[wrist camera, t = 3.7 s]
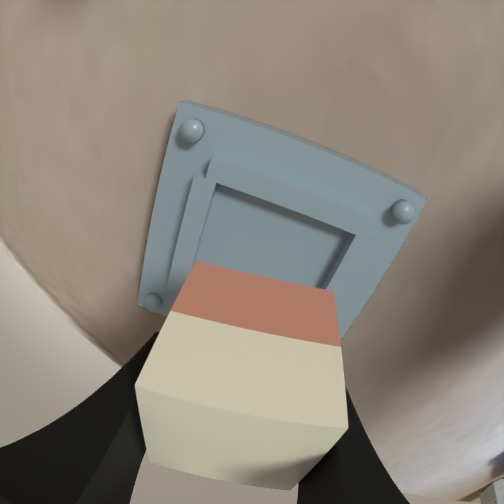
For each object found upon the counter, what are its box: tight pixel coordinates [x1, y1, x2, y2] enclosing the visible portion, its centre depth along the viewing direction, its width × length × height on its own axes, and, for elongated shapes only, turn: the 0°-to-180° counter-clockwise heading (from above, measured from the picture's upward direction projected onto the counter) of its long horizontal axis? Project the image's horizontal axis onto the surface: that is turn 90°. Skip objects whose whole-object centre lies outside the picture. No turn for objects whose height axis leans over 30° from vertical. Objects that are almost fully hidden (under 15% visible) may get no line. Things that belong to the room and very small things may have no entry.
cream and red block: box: [135, 261, 348, 490], centre depth 9 cm, size 4×4×5 cm
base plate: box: [137, 101, 427, 340], centre depth 16 cm, size 12×12×2 cm
